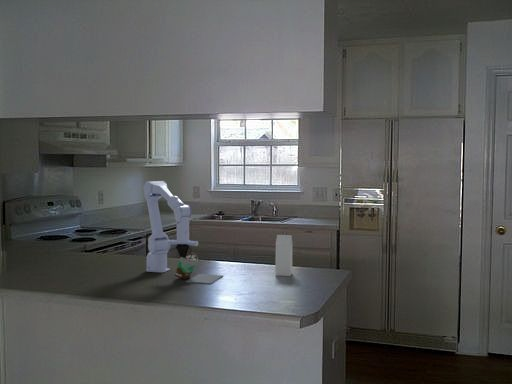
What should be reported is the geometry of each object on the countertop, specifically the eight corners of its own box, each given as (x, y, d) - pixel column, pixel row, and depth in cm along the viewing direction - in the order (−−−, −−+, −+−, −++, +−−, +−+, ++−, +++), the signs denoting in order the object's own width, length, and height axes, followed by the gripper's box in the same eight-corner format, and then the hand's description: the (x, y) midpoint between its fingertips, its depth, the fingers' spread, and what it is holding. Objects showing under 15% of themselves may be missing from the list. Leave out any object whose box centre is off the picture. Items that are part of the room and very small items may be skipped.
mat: (185, 282, 237) (185, 281, 237) (199, 274, 253) (199, 273, 253) (210, 284, 234) (210, 283, 234) (223, 276, 249) (223, 275, 249)
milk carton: (290, 276, 250) (290, 236, 249) (275, 275, 251) (275, 235, 250) (292, 273, 257) (292, 234, 256) (277, 272, 258) (278, 233, 257)
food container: (184, 282, 239) (191, 262, 237) (173, 276, 241) (180, 256, 239) (196, 276, 251) (203, 257, 249) (185, 270, 253) (192, 251, 251)
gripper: (164, 231, 243) (164, 261, 244) (193, 233, 239) (194, 263, 240) (171, 229, 250) (171, 258, 251) (200, 231, 246) (200, 260, 247)
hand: (183, 260), depth 246 cm, fingers closed
